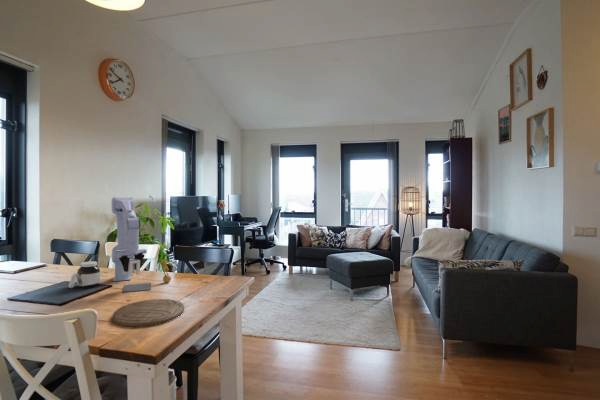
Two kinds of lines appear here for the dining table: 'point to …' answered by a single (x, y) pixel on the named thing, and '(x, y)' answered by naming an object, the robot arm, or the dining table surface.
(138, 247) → the robot arm
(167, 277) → the figurine
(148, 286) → the mat
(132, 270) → the stool
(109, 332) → the dining table surface
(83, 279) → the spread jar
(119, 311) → the trivet
